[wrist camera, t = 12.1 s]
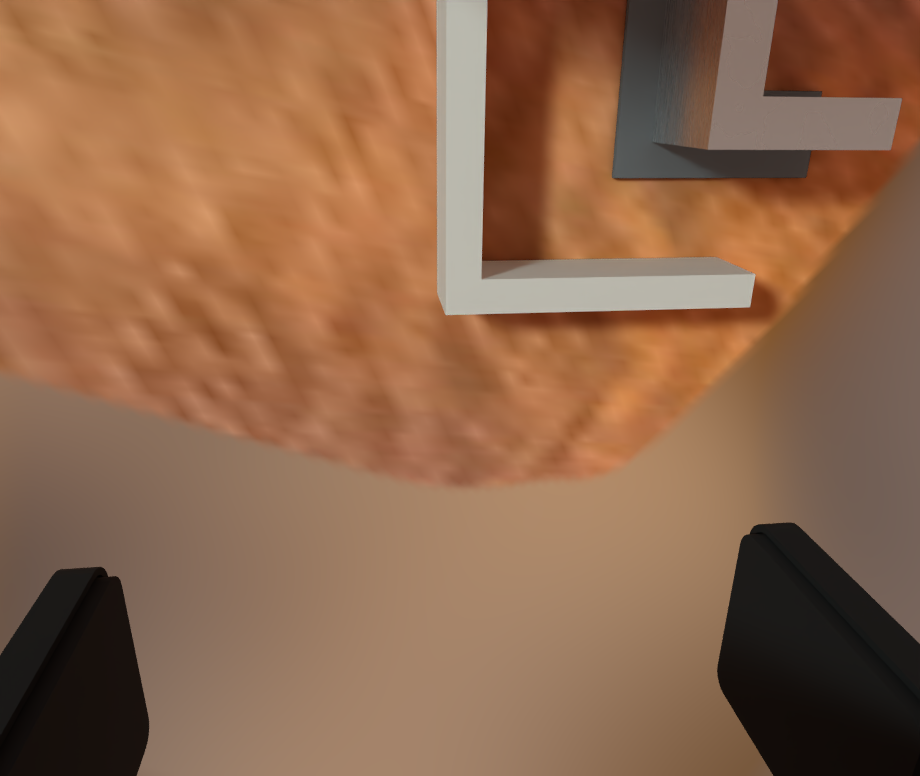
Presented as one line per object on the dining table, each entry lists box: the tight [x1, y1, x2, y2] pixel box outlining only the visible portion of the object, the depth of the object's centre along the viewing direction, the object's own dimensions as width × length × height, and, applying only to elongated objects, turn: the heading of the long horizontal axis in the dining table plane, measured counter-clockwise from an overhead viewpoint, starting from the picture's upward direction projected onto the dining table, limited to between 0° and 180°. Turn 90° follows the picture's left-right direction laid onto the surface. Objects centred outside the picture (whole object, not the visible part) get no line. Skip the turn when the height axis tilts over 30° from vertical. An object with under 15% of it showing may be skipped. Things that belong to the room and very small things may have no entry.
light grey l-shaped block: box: [437, 0, 756, 315], centre depth 31 cm, size 20×15×4 cm
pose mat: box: [612, 0, 822, 178], centre depth 33 cm, size 12×10×1 cm
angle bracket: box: [652, 0, 902, 150], centre depth 30 cm, size 10×8×6 cm
